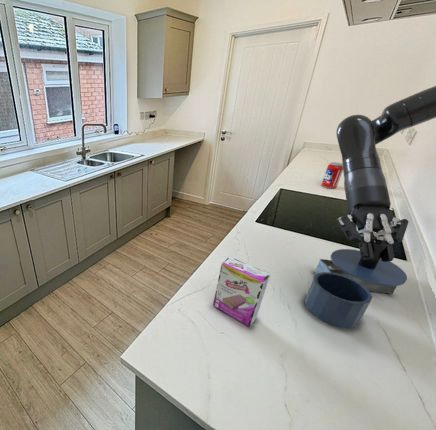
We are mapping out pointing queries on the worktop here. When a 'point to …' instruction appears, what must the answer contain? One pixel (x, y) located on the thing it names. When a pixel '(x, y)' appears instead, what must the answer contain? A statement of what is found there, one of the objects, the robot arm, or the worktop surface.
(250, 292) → the candy bar box
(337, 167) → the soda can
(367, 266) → the lid
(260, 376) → the worktop surface
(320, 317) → the pot
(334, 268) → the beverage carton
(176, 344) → the worktop surface
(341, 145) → the robot arm
